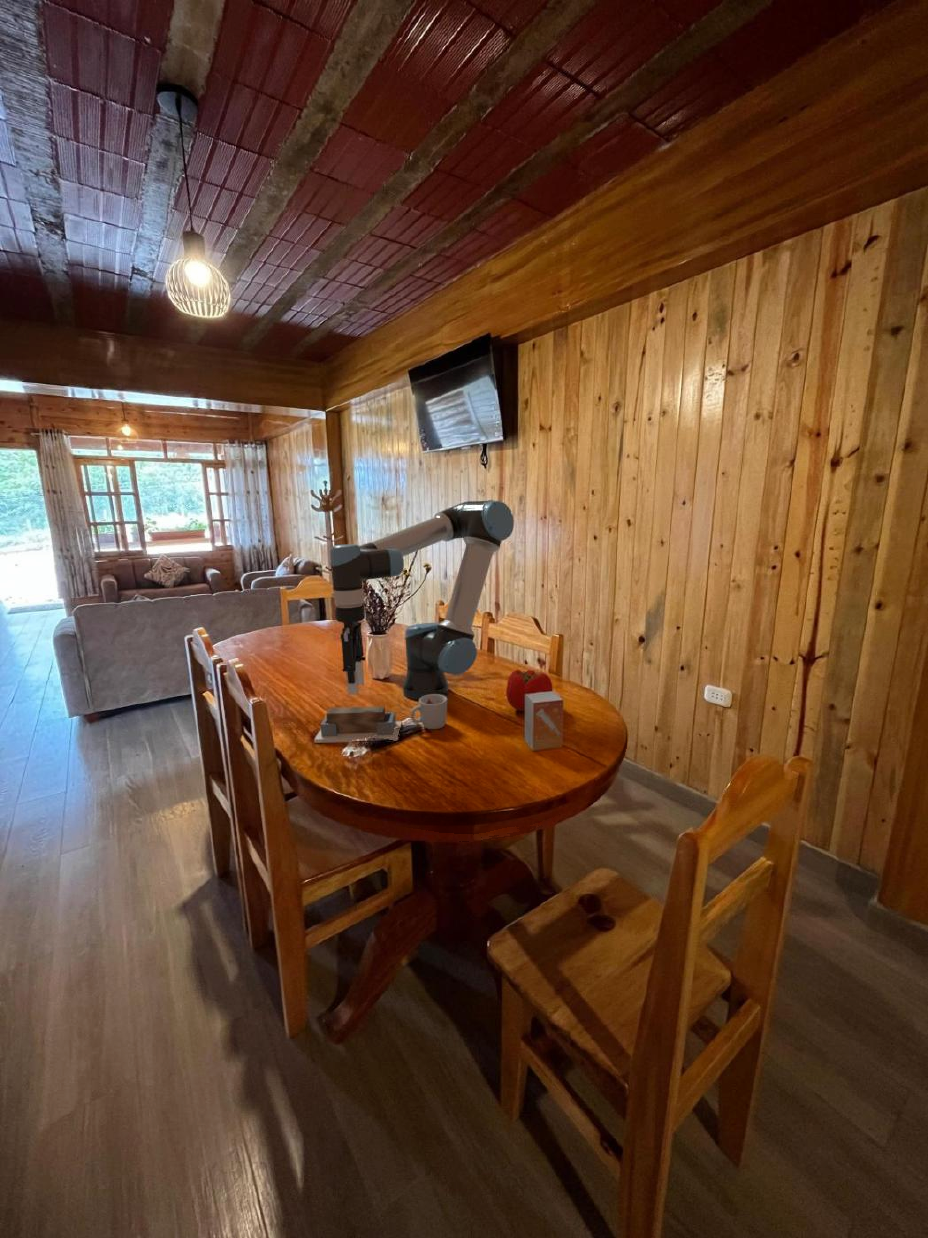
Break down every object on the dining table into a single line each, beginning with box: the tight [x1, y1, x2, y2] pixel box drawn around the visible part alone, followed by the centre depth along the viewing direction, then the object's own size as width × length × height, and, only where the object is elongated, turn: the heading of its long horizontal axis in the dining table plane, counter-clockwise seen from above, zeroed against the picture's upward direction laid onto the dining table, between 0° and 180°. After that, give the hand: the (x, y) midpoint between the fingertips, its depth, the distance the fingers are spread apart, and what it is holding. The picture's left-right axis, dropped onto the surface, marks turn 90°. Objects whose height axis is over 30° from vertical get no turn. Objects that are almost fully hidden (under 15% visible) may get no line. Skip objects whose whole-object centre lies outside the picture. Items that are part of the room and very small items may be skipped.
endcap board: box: [314, 711, 403, 744], centre depth 137 cm, size 22×10×4 cm, turn 90°
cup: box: [410, 694, 448, 730], centre depth 140 cm, size 11×8×8 cm
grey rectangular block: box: [326, 705, 386, 734], centre depth 137 cm, size 15×4×6 cm, turn 91°
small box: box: [524, 690, 564, 752], centre depth 127 cm, size 8×6×13 cm
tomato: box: [505, 669, 554, 712], centre depth 150 cm, size 13×14×12 cm
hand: (356, 688), depth 135 cm, fingers open, 6 cm apart
